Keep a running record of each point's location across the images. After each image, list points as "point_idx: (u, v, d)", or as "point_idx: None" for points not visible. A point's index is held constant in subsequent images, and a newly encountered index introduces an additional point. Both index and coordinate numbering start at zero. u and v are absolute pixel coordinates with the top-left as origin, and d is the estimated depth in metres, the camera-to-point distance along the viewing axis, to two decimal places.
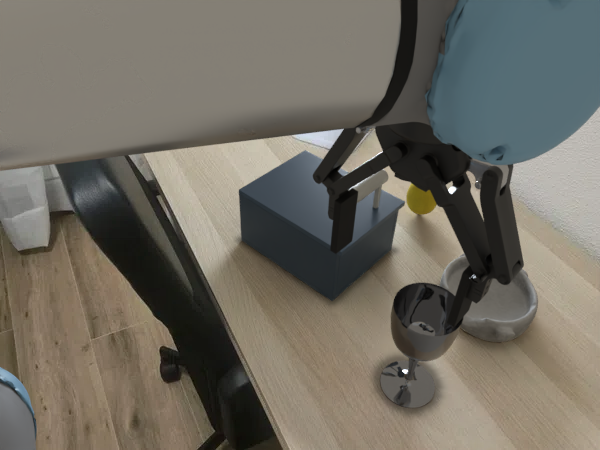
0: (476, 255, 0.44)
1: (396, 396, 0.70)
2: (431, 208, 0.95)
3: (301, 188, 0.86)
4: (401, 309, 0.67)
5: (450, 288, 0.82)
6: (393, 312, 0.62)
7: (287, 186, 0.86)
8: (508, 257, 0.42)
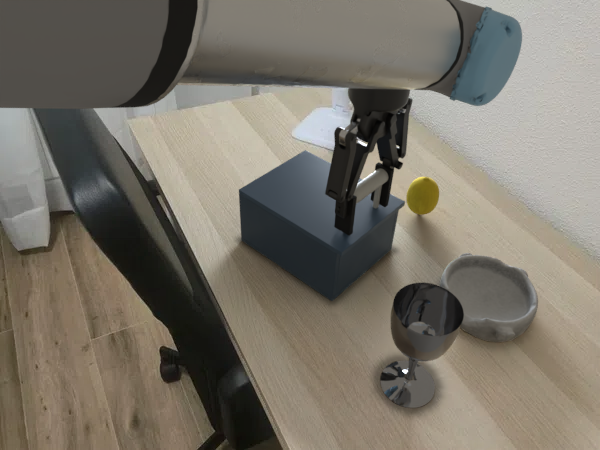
0: None
1: (396, 396, 0.70)
2: (431, 208, 0.95)
3: (301, 188, 0.86)
4: (401, 309, 0.67)
5: (450, 288, 0.82)
6: (393, 312, 0.62)
7: (287, 186, 0.86)
8: (329, 181, 0.70)
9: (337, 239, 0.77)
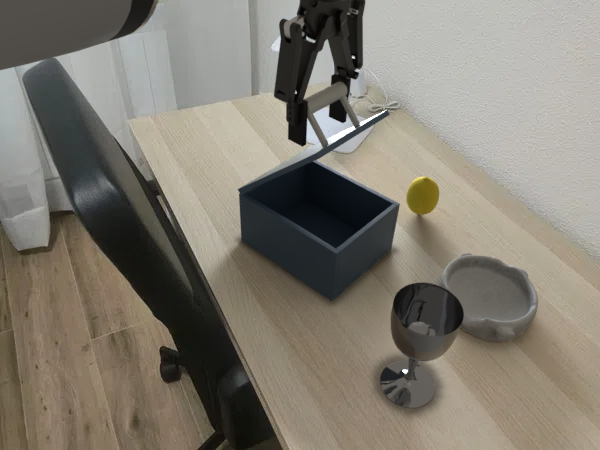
0: None
1: (396, 396, 0.70)
2: (431, 208, 0.95)
3: (292, 159, 0.84)
4: (401, 309, 0.67)
5: (450, 288, 0.82)
6: (393, 312, 0.62)
7: (280, 165, 0.85)
8: (277, 81, 0.68)
9: (314, 152, 0.71)
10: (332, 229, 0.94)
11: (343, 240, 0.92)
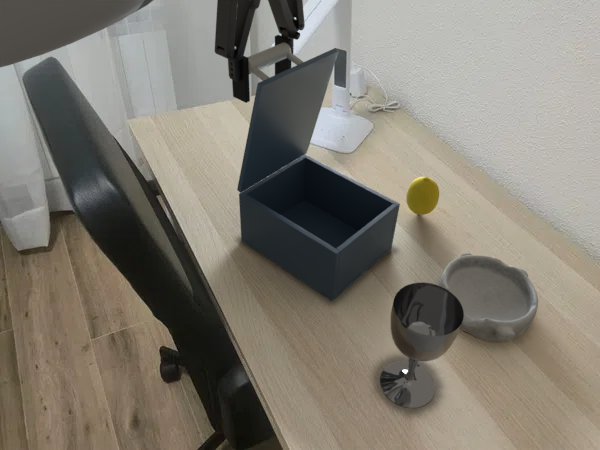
0: None
1: (396, 396, 0.70)
2: (431, 208, 0.95)
3: None
4: (401, 309, 0.67)
5: (450, 288, 0.82)
6: (393, 312, 0.62)
7: None
8: (217, 37, 0.72)
9: None
10: (332, 229, 0.94)
11: (343, 240, 0.92)
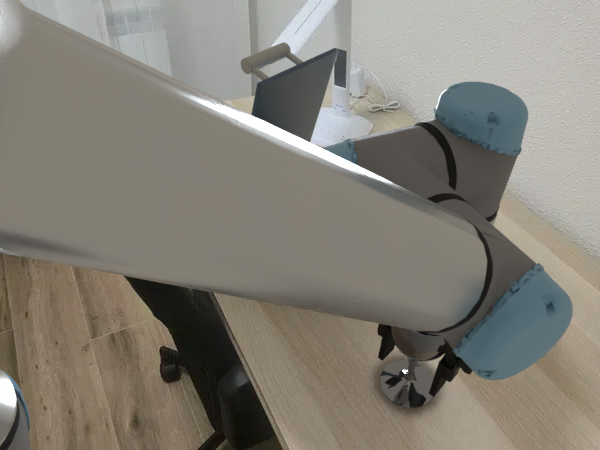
0: (452, 354, 0.61)
1: (396, 396, 0.70)
2: None
3: None
4: None
5: None
6: None
7: None
8: None
9: None
10: None
11: None
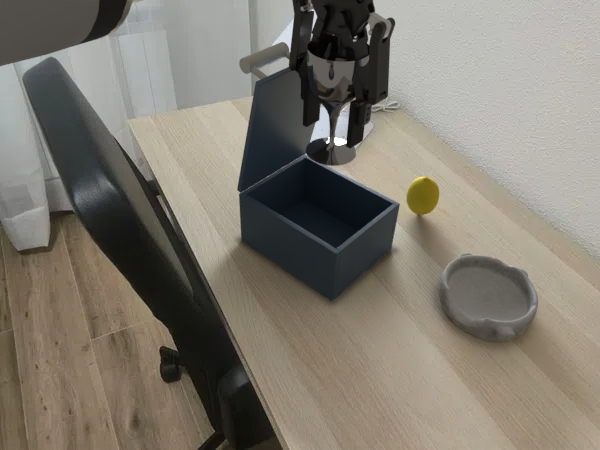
0: (360, 87, 0.66)
1: (318, 157, 0.75)
2: (431, 208, 0.95)
3: None
4: None
5: (450, 288, 0.82)
6: None
7: None
8: (378, 86, 0.65)
9: None
10: (332, 229, 0.94)
11: (343, 240, 0.92)
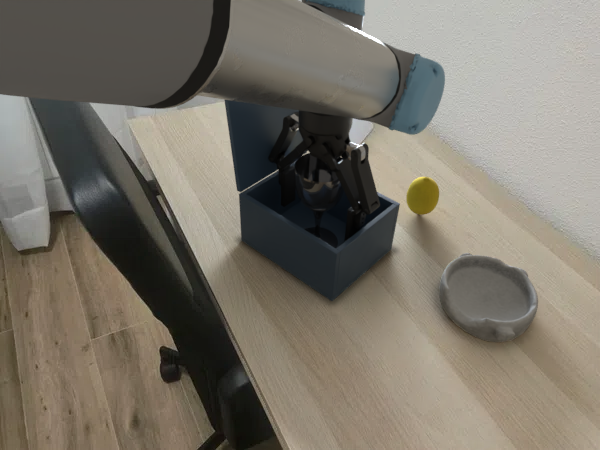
0: (353, 198, 0.78)
1: None
2: (431, 208, 0.95)
3: None
4: (306, 175, 0.86)
5: (450, 288, 0.82)
6: None
7: None
8: (368, 198, 0.77)
9: None
10: (332, 229, 0.94)
11: (343, 240, 0.92)
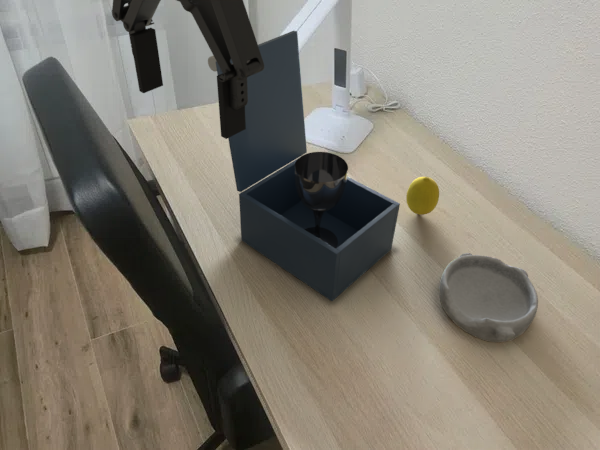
0: (220, 54, 0.49)
1: None
2: (431, 208, 0.95)
3: None
4: (306, 175, 0.86)
5: (450, 288, 0.82)
6: None
7: None
8: (240, 50, 0.48)
9: None
10: (332, 229, 0.94)
11: (343, 240, 0.92)
